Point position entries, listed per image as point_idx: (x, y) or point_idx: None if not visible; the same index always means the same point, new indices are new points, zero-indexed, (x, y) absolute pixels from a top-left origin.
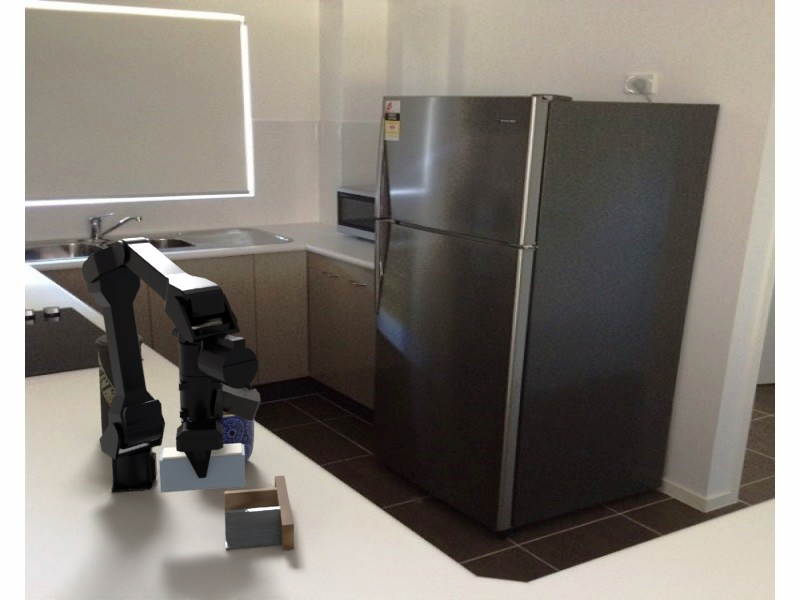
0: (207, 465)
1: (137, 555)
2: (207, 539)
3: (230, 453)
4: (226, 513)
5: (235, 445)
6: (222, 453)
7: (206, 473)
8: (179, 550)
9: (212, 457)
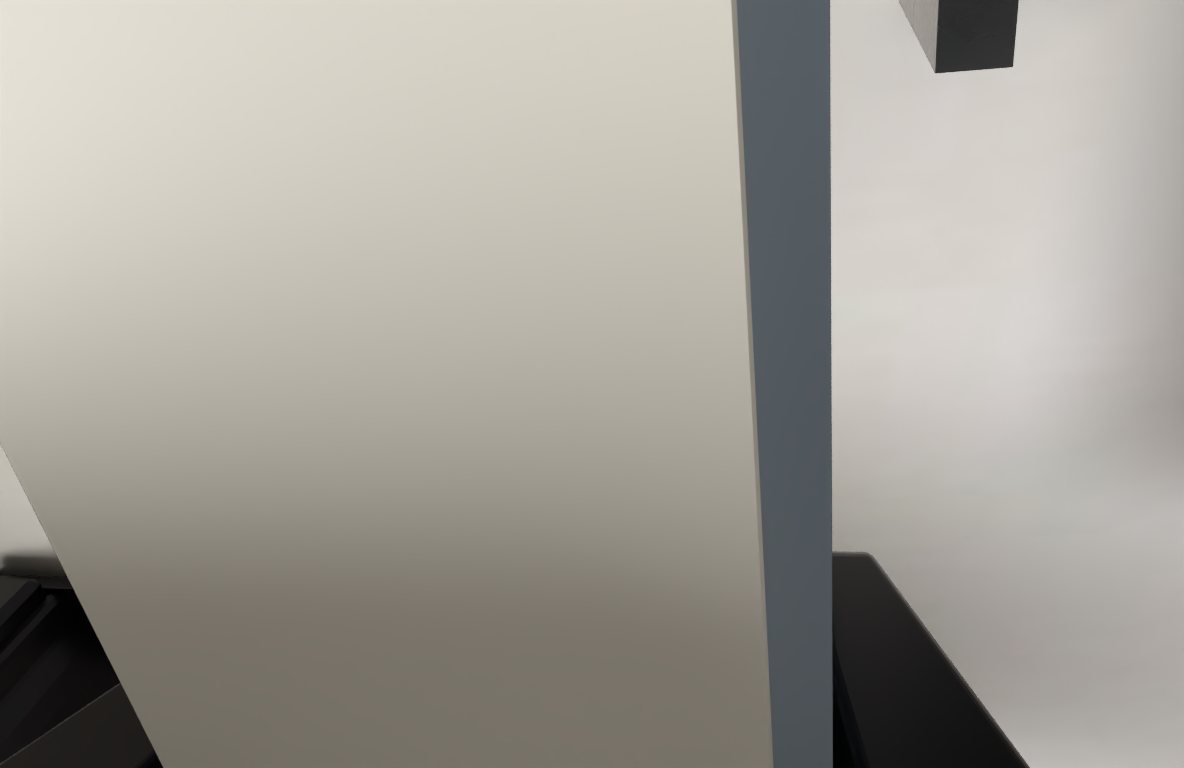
0: (1003, 750)
1: (993, 613)
2: (870, 171)
3: (741, 355)
4: (1012, 45)
5: (36, 202)
6: (736, 595)
7: (901, 603)
8: (1003, 374)
9: (825, 758)
